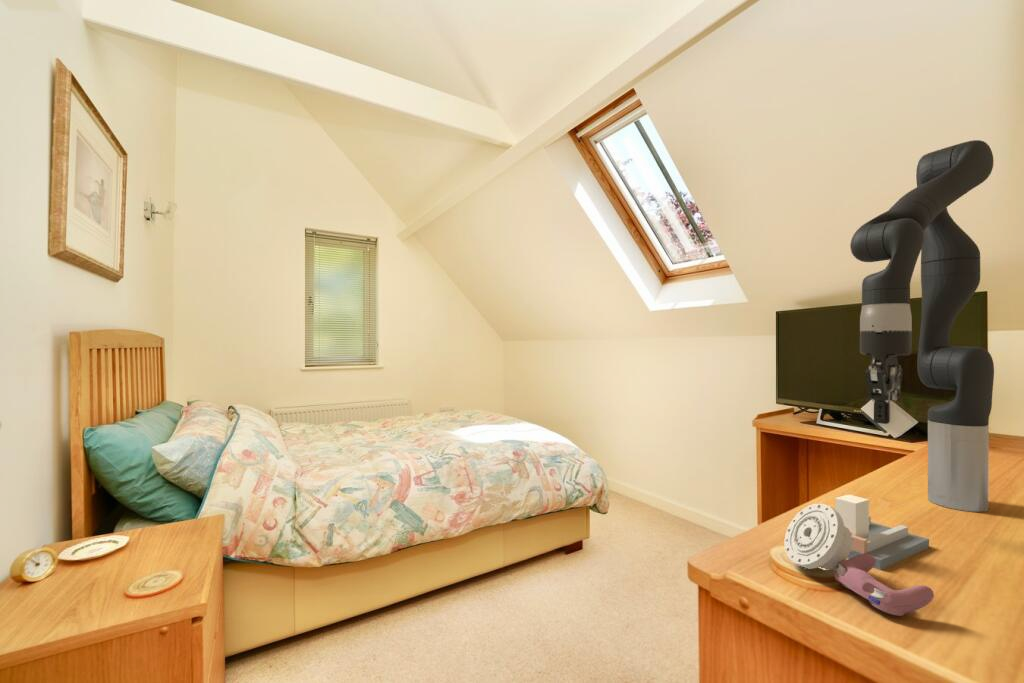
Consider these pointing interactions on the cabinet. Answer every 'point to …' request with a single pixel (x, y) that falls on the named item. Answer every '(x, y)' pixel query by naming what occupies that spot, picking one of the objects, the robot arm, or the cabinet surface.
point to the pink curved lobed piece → (880, 587)
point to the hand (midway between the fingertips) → (884, 421)
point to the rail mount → (876, 534)
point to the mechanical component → (818, 538)
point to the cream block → (891, 419)
